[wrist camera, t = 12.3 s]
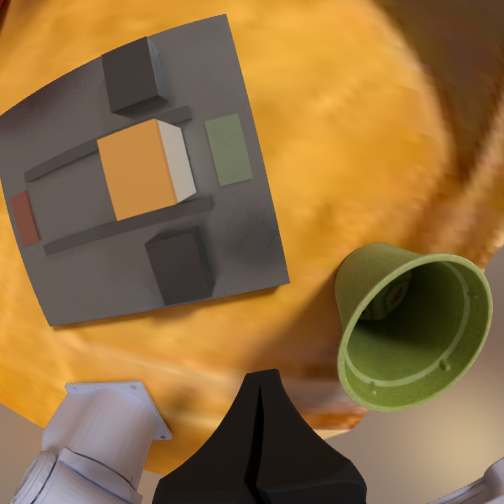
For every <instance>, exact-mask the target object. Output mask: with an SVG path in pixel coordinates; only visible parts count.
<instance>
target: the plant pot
mask: <svg viewBox="0 0 504 504" xmlns="http://www.w3.org/2000/svg"><path fill="white" fill-rule="evenodd" d="M400 288H401V292H400V295H399V297H398V298H397V299H396V301H394V302H393V303H391V300H392V299H393V298H394V296H395V295H396V293H397V292H398V291H399V289H400ZM334 291H335V298H336V303H337V308H338V312H339V317H340V322H341V328H342V335H341V338H340V341H339V345H338V350H337V372H338V377H339V380H340V383H341V386H342V388H343V390H344V391H345V393H346V394H347V395H348V396H349V397H350V398H351V399H352V400H353V401H354V402H355V403H357V404H358V405H360V406H362V407H364V408H367V409H370V410H374V411H378V412H397V411H402V410H408V409H411V408H414V407H417V406H420V405H423V404H425V403H427V402H429V401H431V400H433V399H435V398H436V397H438V396H439V395H441V394H442V393H444V392H445V391H447V390H448V389H449V388H451V387H452V386H453V385H454V384H455V383H456V382H457V381H458V380H459V379H460V378H461V377H462V376H463V375H464V374H465V373H466V372H467V370H468V369H469V368H470V367H471V365H472V364H473V362H474V361H475V360H476V358H477V356H478V355H479V353H480V351H481V349H482V347H483V345H484V342H485V340H486V338H487V335H488V332H489V329H490V325H491V319H492V308H493V303H492V296H491V291H490V287H489V285H488V282H487V279H486V277H485V276H484V274H483V273H482V271H481V270H480V269H479V268H478V267H477V266H476V265H474V264H473V263H472V262H470V261H469V260H467V259H465V258H463V257H460V256H457V255H453V254H448V253H434V254H428V255H420V254H416V253H413V252H411V251H408V250H405V249H402V248H399V247H396V246H393V245H390V244H386V243H373V244H369V245H366V246H363V247H361V248H358V249H356V250H355V251H353V252H352V253H351V254H350V255H349V256H348V257H347V258H346V259H345V260H344V261H343V263H342V264H341V266H340V268H339V270H338V272H337V275H336V279H335V285H334ZM363 311H365V313H363V314H361V313H362V312H363Z"/></svg>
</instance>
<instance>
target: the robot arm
mask: <svg viewBox="0 0 504 504" xmlns="http://www.w3.org/2000/svg"><path fill="white" fill-rule="evenodd" d="M133 386H135V387H133ZM65 389H66V390H67V392H68V394H67V396H66V397H65V399H64V400H63V402H62V403H61V405H60V406H59V408H58V409H57V411H56V412H55V414H54V415H53V417H52V418H51V420H50V421H49V423H48V424H47V426H46V427H45V429H44V432H43V437H42V450H43V451H41V452H40V453H39V454H38V455H37V456H36V458H35V459H34V460H33V462H32V463H31V465H30V466H29V468H28V469H27V471H26V472H25V474H24V476H23V477H22V479H21V481H20V483H19V485H18V487H17V489H16V491H15V493H14V497H13V499H12V500H11V502H10V504H141V502H142V498H143V496H142V495H140V494H138V493H137V488H138V485H139V481H140V479H141V475H142V472H143V469H144V466H145V463H146V460H147V457H148V453H149V450H150V447H151V444H152V441H153V440H171V439H172V437H173V435H172V433H171V432H170V430H169V428H168V427H167V425H166V423H165V422H164V420H163V418H162V417H161V415H160V413H159V411H158V410H157V408H156V406H155V404H154V403H153V401H152V399H151V397H150V395H149V394H148V392H147V390H146V388H145V386H144V384H143V383H142V382H140V381H124V382H101V383H67V384H66V385H65ZM366 493H367V487H366V483H365V481H364V479H363V477H362V476H361V474H360V473H359V471H358V470H357V468H356V467H355V466H354V465H353V463H352V462H351V461H350V460H349V459H348V458H346V457H344V456H343V455H342V454H340V453H339V452H337V451H336V450H335V449H333V448H332V447H331V446H330V445H328V444H327V443H326V442H325V441H324V440H323V439H322V438H321V437H320V436H319V435H317V434H316V433H315V432H314V431H313V429H312V428H311V427H310V426H309V425H308V424H307V423H306V422H305V420H304V419H303V418H302V417H301V415H300V414H299V413H298V411H297V410H296V408H295V407H294V405H293V404H292V402H291V401H290V399H289V397H288V395H287V393H286V392H285V390H284V388H283V385H282V382H281V378H280V374H279V370H277V369H270V370H265V371H259V372H253V373H247V374H246V376H245V378H244V380H243V383H242V385H241V387H240V390H239V392H238V394H237V396H236V398H235V400H234V402H233V404H232V405H231V407H230V409H229V411H228V412H227V414H226V416H225V417H224V419H223V420H222V422H221V423H220V425H219V426H218V428H217V429H216V430H215V432H214V433H213V434H212V435H211V437H210V438H209V439H208V440H207V441H206V442H205V443H204V445H203V446H202V447H201V448H200V449H199V450H198V451H197V452H196V453H195V454H194V455H193V456H191V457H190V458H189V459H188V460H187V461H186V462H184V463H183V464H182V465H181V466H179V467H178V468H177V469H175V470H174V471H172V472H171V473H169V474H168V475H166V476H165V477H163V478H162V479H160V480H159V483H158V485H157V488H156V490H155V494H154V497H153V501H152V504H366ZM428 504H504V457H503V458H502V459H500V460H498V461H497V462H495V463H494V464H492V465H491V466H490V467H489V468H488V469H487V470H486V472H485V473H484V476H483V477H482V478H480V479H478V480H476V481H474V482H473V483H471V484H469V485H467V486H465V487H463V488H461V489H459V490H457V491H455V492H453V493H450V494H448V495H446V496H444V497H442V498H439V499H437V500H435V501H432V502H430V503H428Z"/></svg>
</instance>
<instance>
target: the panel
mask: <svg viewBox="0 0 504 504" xmlns="http://www.w3.org/2000/svg"><path fill="white" fill-rule="evenodd" d="M152 119H157V120H159V121H162V122H165V123H168V124H170V125H173V126H176V127H178V128H181V132H182V136H183V141H184V145H185V149H186V153H187V157H188V161H189V165H190V169H191V173H192V177H193V181H194V185H195V189H196V193H194V194H193V195H191V196H189V197H187V198H186V199H184V200H182V201H181V202H179V203H177V204H175V205H172V206H168V207H164V208H161V209H157V210H154V211H150V212H147V213H143V214H140V215H136V216H133V217H129V218H126V219H122V220H119V221H117V218H116V215H115V211H114V207H113V204H112V200H111V197H110V193H109V189H108V185H107V181H106V177H105V173H104V169H103V165H102V161H101V156H100V152H99V147H98V143H97V140H99V139H101V138H104V137H106V136H109V135H111V134H114V133H116V132H119V131H121V130H124V129H127V128H129V127H132V126H135V125H137V124H140V123H143V122H146V121H149V120H152ZM0 178H1V183H2V188H3V192H4V197H5V201H6V205H7V209H8V213H9V217H10V221H11V224H12V228H13V231H14V235H15V238H16V241H17V244H18V248H19V251H20V254H21V257H22V260H23V262H24V265H25V268H26V271H27V274H28V276H29V279H30V282H31V284H32V287H33V289H34V292H35V294H36V297H37V299H38V301H39V304H40V306H41V308H42V311H43V313H44V315H45V317H46V320H47V322H48V324H49V326H55V325H62V324H69V323H76V322H83V321H89V320H96V319H102V318H109V317H115V316H121V315H127V314H133V313H139V312H145V311H151V310H156V309H162V308H168V307H173V306H179V305H184V304H190V303H195V302H200V301H206V300H211V299H216V298H221V297H226V296H231V295H236V294H241V293H246V292H251V291H256V290H261V289H265V288H270V287H275V286H280V285H284V284H289V283H290V281H289V276H288V271H287V266H286V261H285V257H284V252H283V247H282V242H281V238H280V233H279V228H278V224H277V219H276V215H275V210H274V205H273V201H272V197H271V192H270V188H269V183H268V179H267V174H266V170H265V166H264V162H263V157H262V153H261V149H260V145H259V140H258V136H257V132H256V128H255V124H254V120H253V116H252V111H251V107H250V103H249V99H248V95H247V91H246V88H245V84H244V80H243V76H242V72H241V68H240V64H239V60H238V57H237V53H236V49H235V45H234V42H233V38H232V34H231V30H230V27H229V23H228V20H227V16H226V14H223V15H218V16H214V17H210V18H206V19H203V20H199V21H195V22H192V23H188V24H185V25H182V26H178V27H175V28H172V29H169V30H166V31H163V32H160V33H157V34H154V35H151V36H149V37H147V36H146V37H144V38H141V39H138V40H136V41H133V42H131V43H128V44H126V45H123V46H121V47H119V48H116V49H114V50H112V51H109V52H107V53H105V54H103V55H101V56H100V57H98V58H96V59H94V60H92V61H90V62H88V63H86V64H84V65H82V66H80V67H78V68H76V69H74V70H72V71H71V72H69V73H67V74H65V75H63V76H61V77H60V78H58V79H56V80H54V81H53V82H51V83H49V84H48V85H46V86H44V87H43V88H41V89H39V90H38V91H36V92H35V93H33V94H31V95H30V96H28V97H27V98H25V99H24V100H22V101H21V102H19V103H18V104H16V105H15V106H13V107H12V108H11V109H9V110H8V111H6V112H5V113H4V114H2V115H1V116H0Z"/></svg>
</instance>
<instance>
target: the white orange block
mask: <svg viewBox="0 0 504 504" xmlns="http://www.w3.org/2000/svg"><path fill="white" fill-rule="evenodd" d="M97 143H98V147H99V152H100V156H101V161H102V165H103V169H104V173H105V177H106V181H107V185H108V189H109V193H110V197H111V200H112V204H113V207H114V211H115V215H116V218H117V221H119V220H122V219H126V218H129V217H133V216H136V215H140V214H143V213H147V212H150V211H154V210H157V209H161V208H164V207H168V206H172V205H175V204H177V203H179V202H181V201H182V200H184V199H186V198H187V197H189V196H191V195H193V194H194V193H196V189H195V185H194V181H193V177H192V173H191V169H190V165H189V161H188V157H187V153H186V149H185V145H184V141H183V136H182V132H181V128H178V127H176V126H173V125H170V124H168V123H165V122H162V121H159V120H157V119H152V120H149V121H146V122H143V123H140V124H137V125H135V126H132V127H129V128H127V129H124V130H121V131H119V132H116V133H114V134H111V135H109V136H106V137H104V138H101V139H99V140H97Z"/></svg>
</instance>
